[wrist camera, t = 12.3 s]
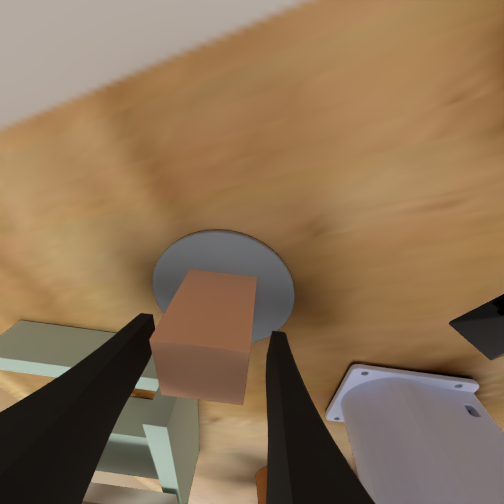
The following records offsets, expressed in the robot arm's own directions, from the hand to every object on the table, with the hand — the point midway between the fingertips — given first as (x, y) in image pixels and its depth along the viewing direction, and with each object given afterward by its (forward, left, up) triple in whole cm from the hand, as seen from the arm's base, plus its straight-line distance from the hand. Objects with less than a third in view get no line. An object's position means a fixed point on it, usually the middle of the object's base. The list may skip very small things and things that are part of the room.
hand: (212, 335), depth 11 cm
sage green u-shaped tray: (+9, +16, -3) cm, 18 cm away
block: (0, 0, -3) cm, 3 cm away
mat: (0, 0, -3) cm, 3 cm away
